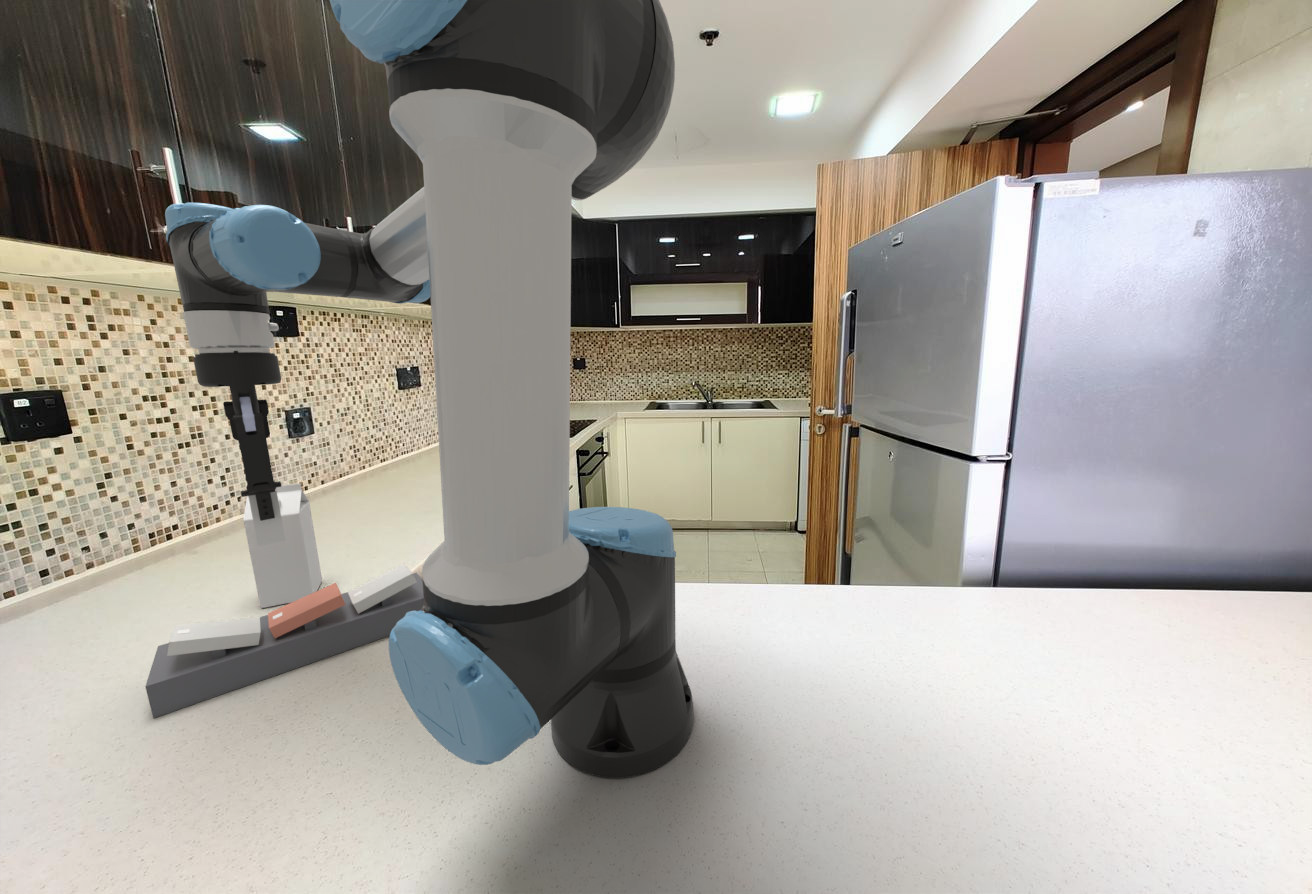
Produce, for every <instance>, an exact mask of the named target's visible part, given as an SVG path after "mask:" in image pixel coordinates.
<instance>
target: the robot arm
mask: <svg viewBox="0 0 1312 894" xmlns="http://www.w3.org/2000/svg"><path fill="white" fill-rule="evenodd" d="M329 3H330V6H331V10H332V12H333V14H334V17H335V19H336V21H337V23H338V24H339V28H340V31H342V33H343V34H344V35H345V37H346V38H347V40H348V42H350V43H351V44H352V45H353V46H355V48H357V49H358V50H359V51H360V52H361V53H362V55H363V56H364V57H365V58H366V59H367V60H369V61H371V62H374V63H378V64H380V65H382V64H383V65H384V67H385V73H386V85H387V87H386V88H387V96H388V97H387V98H388V110H389V113H388V114H389V115H388V116H389V121H390V125H391V127H392V128H393V129H394V131H395V132H396V133H397V134H398V135H399V137H401V139H403V141H404V142H405V143H406V144H407V145H408V147H410V149H411V150H412V151H413V152H414V154H416V155H417V157H418V158H419V160H420V161H421V163H422V172H423V173H422V174H423V187H421V188H420V189H419V190H418V191H416V192H415V193H414V194H413V195H412V196H410V197H409V198H408V199H407V200H405V202H403V203H402V204H400V205H399V206H398V207H397V208H396V209H394V211H392V212H391V213H389V215H387V216H386V217H384V218H383V219H382V221H380V222H379V223H378V224H376V225H374V227H372V228H371V229H369V230H368V231H366V232H364V233H359V232H354V231H350V230H344V229H339V228H333V227H328V226H322V225H317V224H313V223H307V222H304V221H303V220H301V219H300V218H298V217H296V215H294V214H292V213H291V212H288V211H287V210H285V209H282V208H280V207H277V206H274V205H267V204H252V205H246V206H244V205H243V206H242V207H236V208H235V207H234V208H231V207H228V206H223V205H217V204H213V203H212V204H211V203H206V202H205V203H203V202H185V203H182V202H178V203H172V204H170V205H169V206H168V207H167V208H166V209H165V213H164V217H165V224H166V226H165V227H166V234H165V239H166V243H168V247H169V248H170V254H171V257H172V261H173V267H174V271H175V275H176V276H175V277H176V281H177V286H178V290H179V295H180V300H181V305H182V307H183V308H182V309H183V311H182V315H183V319H184V324H185V329H186V333H187V339H188V342H189V347H190V348H191V349H195V350H198V351H197V352H198V353H197V354H194V356H193V357H192V358H193V365H194V369H195V374H196V380H197V383H198V385H200V386H202V387H204V388H205V387H206V388H213V387H214V388H217V387H218V388H219V387H222V388H223V387H229V391H230V396H231V401H223V403H222V404H223V409H224V416H225V417H226V418H227V419H228V420H229V425H230V429H231V436H232V438H233V439H234V440H235V441H238V445H239V449H240V453H241V459H242V464H243V469H244V474H245V482H246V484H247V485H246V487H245V488H246V489H247V490H246V489H245V490H240V496H241V498H243V497H247V496H248V497H249V502H250V507H251V512H252V517H253V522H254V528H255V533H256V538H257V543H258V546H262V545H266V544H271V543H276V542H281V541H285V535H284V529H283V524H282V518H281V513H280V507H279V502H278V496H277V491H276V487H281V485H282V482H281V480H280V481H279V480H278V481H275V479H274V474H273V469H272V462H271V458H270V451H269V446H268V441H267V440H268V439H267V438H268V437H270V435H271V432H270V425H269V419H268V415H269V414H270V411H269V405H268V400H267V399H258V395H257V394H258V393H257V390H256V389H257V388H256V386H259V385H260V386H261V385H262V386H264V385H265V386H266V385H275V384H279V383H280V382H281V381H282V374H281V370H280V363H279V357H278V355H276V353H273V352H270V349H274V348H275V347H276V344H275V340H274V334H273V332H277V331H279V330H280V327H279V325H278V323H275V322H269V321H270V320H271V316H270V314H271V311H270V307H269V302H268V293H286V294H287V293H288V294H298V295H308V296H309V295H311V296H321V297H334V298H335V297H336V298H347V299H357V300H358V299H359V300H367V301H368V300H369V301H378V302H379V301H380V302H389V303H394V304H400V305H401V304H402V305H403V304H407V303H413V304H415V303H416V304H420V303H423V302H427V300H429V299H430V312H431V313H430V314H431V327H432V328H431V330H432V332H431V333H432V346H433V347H432V348H433V363H434V378H435V379H434V382H435V397H436V400H435V401H436V416H437V418H436V419H437V433H438V435H437V436H438V448H439V449H438V451H439V452H438V453H439V467H440V469H439V470H440V471H439V472H440V484H441V503H442V519H443V522H442V523H443V538H444V540H443V542H441V543H440V544H439V545H438V547H436V549H435V550H433V551H432V552H431V553H430V554H429V555H428V556H427V558H426V559H425V561H424V562H423V564H422V569H421V579H422V581H423V597H424V605H423V607H422V608H421V609H420V610H414V611H410V612H407V613H406V615H405V616H404V618H402V619H401V620H399V621H398V622H397V623H396V626H395V627H394V628H393V629H392V631H391V633H390V636H388V637H389V638H388V653H389V660H390V665H391V668H392V672H393V674H394V677H395V680H396V682H397V684H398V687H399V688H400V690H401V693H402V695H403V697H404V698H405V700H406V702H407V704H408V705H409V707H410V709H411V710H412V711H413V713H414V715H415V716H416V718H417V719H418V720H419V721H420V724H421V725H422V726H423V727H424V729H426V730H427V732H428V733H429V734H430V735H431V736H432V737H433V738H434V739H435V740H436V742H437V743H439V744H440V745H441V746H442V747H443V748H444V749H446V750H447V751H448V752H449V753H450V754H452V755H454V756H455V757H457V758H458V759H461V760H462V761H465V762H467V763H470V764H473V765H478V766H483V765H485V766H486V765H488V766H489V765H491V764H494V763H496V762H500V761H503V760H504V759H505V758H507V757H508V756H509V755H510V754H513V752H514V751H515V750H517V749H518V748H519V747H520V746H522V745H523V744H524V743H526V742H527V741H528V740H531V739H534V738H535V737H536V736H538V735H539V733H540V731H541V729H542V728H544V726H545V725H546V724H548V723H549V722H550V729H551V737H552V741H553V744H554V746H555V749H556V751H557V752H558V754H559V755H560V756H561V757H562V759H564V761H566V763H568V764H569V765H571V766H572V767H574V768H575V769H577V770H579V771H581V772H583V773H586V774H587V775H588V774H589V775H592V776H596V777H600V778H608V779H609V778H610V779H619V778H620V779H621V778H631V777H636V776H640V775H643V774H648V773H650V772H653V771H655V770H657V769H659V768H660V767H662V766H664V765H666V764H667V763H669V762H671V760H673V759H674V758H675V757H676V756H677V755H678V754H679V753H680V752H681V751H682V750H683V748H684V747H685V745H686V744H687V742H688V741H689V740H690V739H689V738H690V736H691V734H692V731H693V726H694V700H693V699H694V698H693V694H692V691H691V687H690V685H689V682H688V678H687V676H686V674H685V671H684V668H683V666H682V663H681V661H680V660H681V659H680V658H679V655H678V653H677V650H676V649H677V647H676V645H677V644H676V641H677V640H676V557H677V552H676V550H675V545H674V544H675V543H674V532H673V528H672V527H673V526H672V525H671V523H669V521H668V520H666V519H665V517H664V516H661V515H659V514H657V513H655V512H652V511H648V510H643V509H638V508H631V507H622V506H595V507H592V506H591V507H583V508H577V509H573V510H570V446H571V445H570V441H571V440H570V438H571V436H570V435H571V434H570V433H571V430H570V429H571V428H570V427H571V426H570V424H571V421H570V420H571V418H570V417H571V324H572V323H571V320H572V319H571V313H572V312H571V307H572V305H571V304H572V301H571V299H572V298H571V297H572V295H571V294H572V290H571V289H572V286H571V285H572V202H573V201H584V200H587V199H588V198H590V197H592V196H593V195H595V194H597V193H598V192H600V191H603V189H606V188H607V187H609V186H611V185H612V184H613V183H616V182H617V180H619V179H620V178H622V177H623V176H624V175H626V173H628V172H629V171H630V170H632V169H633V168H634V167H635V166H636V165H637V164H638V163H639V162H640V161H641V160H642V159H643V157H644V156H645V155H646V153H648V151H649V150H650V148H651V146H653V144H654V142H655V141H656V140H657V139H658V137H659V135H660V132H661V130H662V128H663V126H664V123H665V121H666V118H667V116H668V113H669V111H670V107H671V102H672V98H673V93H674V87H675V79H676V78H675V75H676V73H675V71H676V70H675V68H676V67H675V66H676V63H675V61H676V60H675V51H674V50H675V49H674V41H673V37H672V33H671V29H670V26H669V22H668V18H667V15H666V13H665V11H664V9H663V7H662V4H661V2H660V0H329ZM572 200H573V201H572Z"/></svg>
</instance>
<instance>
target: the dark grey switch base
mask: <svg viewBox="0 0 1312 894" xmlns="http://www.w3.org/2000/svg"><path fill="white" fill-rule="evenodd" d="M412 573H413V572H412ZM413 575H414V577H415V579H416V583H414V584H412V585H411V586H409V587H407V588H405V589H403V590H401V591H400V592H398V593H396V594H394V595H392V596H390V597H388V598H387V599H385V600H383V601H381V602H379V603H377V604H376V605H374V606H372V607H370V608H368V609H366V610H364V611H363V612H361V613H359V614H358V612H357V611H356V609H355V607H354V605H353V603H352V601H351V599H350V596H349V594H348V592H349V591H347V592H344V593H341V595H342V597H343V600H344V602H345V604H346V605H344V606H342V607H340V608H337V609H335V610H333V611H331V612H329V613H327V614H325V615H323V616H321V617H319V618H317V619H315V620H312V621H310V622H308V623H306V624H304V625H302V626H300V627H298V628H296V629H294V630H292V631H289V632H287V633H285V634H283V635H281V636H279V637H277V638H274V636H273V634H272V633H271V631H270V629H269V621H268V614H266V615H262V616H259V617H260V630H261V633H260V639H259V645H254V646H246V647H238V648H229V649H221V650H213V651H204V652H196V653H188V654H180V655H171V656H167V653H168V647H169V642H168V643H164V644H160V645H157V648H156V652H155V655H154V657H153V661H152V664H151V667H150V670H149V674H148V677H147V680H146V683H145V685H144V686H145V691H146V694H147V699H148V701H149V702H148V703H149V706H150V711H151V715H152V718H153V719H156V718H159V717H163V716H164V715H167V714H171V713H173V712H175V711H179V710H182V709H185V708H187V707H190V706H193V705H196V704H198V703H202V702H204V701H208V700H209V699H212V698H215V697H219V696H221V695H224V694H227V693H231V692H233V691H235V690H239V689H241V688H244V687H246V686H250V685H253V684H256V683H258V682H262V681H264V680H267V679H270V678H272V677H276V676H278V675H281V674H284V673H287V672H289V671H292V670H295V669H298V668H302V667H304V666H307V665H310V664H313V663H316V662H318V661H322V660H325V659H327V658H330V657H333V656H336V655H338V654H341V653H344V652H347V651H350V650H353V649H356V648H358V647H360V646H365V645H367V644H369V643H373V642H375V641H378V640H381V639H385V638H387V637H389V636H390V633H391V631H392V629H393V628H394V627H395V626H396V623H397V622H398V621H399V620H401V619H402V618H404V616H405V615H406V613H407V612H410V611H414V610H420V609H421V608H422V607H423V605H424V597H423V581H422V577H421V576H420V575H419V573H417V572H414V573H413Z"/></svg>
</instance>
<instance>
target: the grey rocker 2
mask: <svg viewBox="0 0 1312 894" xmlns="http://www.w3.org/2000/svg"><path fill="white" fill-rule="evenodd" d="M414 583H416V579H415V577H414V575H413V572H412V571H411V569H410V568H409V567H408V566H407V565H406V563H405V562H403V563H401V564H399V565H398V566H395V567H393V568H392V569H390V570H387V571H386V572H384V573H382V574H381V575H378V576H376V577H374V578H372V579H371V580H368V581H367V582H364V583H363V584H361V585H359V586H357V587H355V588H353V589H351V590H349V591H347V592H348V594H349V596H350V599H351V601H352V603H353V605H354V607H355V609H356V611H357V612H358V614H359V613H361V612H363V611H364V610H366V609H368V608H370V607H372V606H374V605H376V604H377V603H379V602H381V601H383V600H385V599H387V598H388V597H390V596H392V595H394V594H396V593H398V592H400V591H401V590H403V589H405V588H407V587H409V586H411V585H412V584H414Z"/></svg>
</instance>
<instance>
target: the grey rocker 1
mask: <svg viewBox="0 0 1312 894" xmlns="http://www.w3.org/2000/svg"><path fill="white" fill-rule="evenodd" d="M260 617H261V616H256V617H243V618H236V619H234V618H233V619H223V620H222V619H221V620H213V621H201V622H200V621H199V622H192V623H191V622H190V623H179V624H178V623H176V624H173V628H172V630H171V633H170V634H171V635H170V638H169V642H168V643H169V647H168V653H167V656H171V655H180V654H188V653H196V652H204V651H213V650H221V649H229V648H238V647H246V646H254V645H259V639H260V633H261V630H260Z"/></svg>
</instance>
